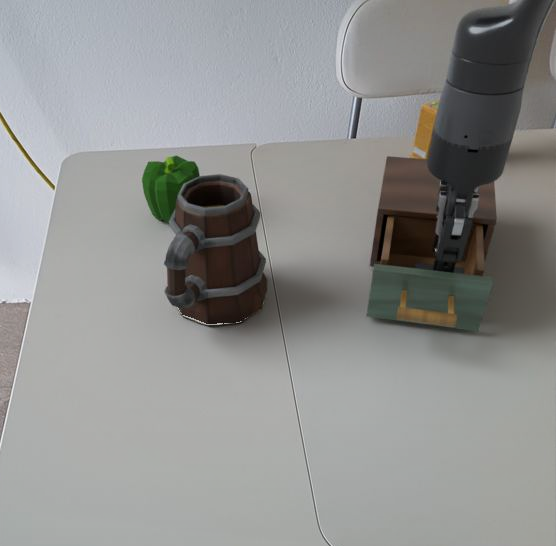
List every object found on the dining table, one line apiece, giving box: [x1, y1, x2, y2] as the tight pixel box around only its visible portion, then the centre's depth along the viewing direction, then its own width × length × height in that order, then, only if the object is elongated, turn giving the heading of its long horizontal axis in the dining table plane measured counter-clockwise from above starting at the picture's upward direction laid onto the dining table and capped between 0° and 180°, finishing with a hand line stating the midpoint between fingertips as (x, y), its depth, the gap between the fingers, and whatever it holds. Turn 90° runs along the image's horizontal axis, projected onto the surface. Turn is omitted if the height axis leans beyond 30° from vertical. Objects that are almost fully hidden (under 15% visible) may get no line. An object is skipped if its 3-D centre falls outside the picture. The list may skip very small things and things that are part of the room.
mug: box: [163, 173, 268, 324], centre depth 75 cm, size 16×12×15 cm
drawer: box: [366, 215, 494, 332], centre depth 75 cm, size 17×12×7 cm
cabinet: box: [369, 155, 498, 267], centre depth 85 cm, size 14×14×9 cm
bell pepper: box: [141, 155, 201, 224], centre depth 93 cm, size 8×8×10 cm
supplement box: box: [410, 99, 440, 159], centre depth 99 cm, size 3×3×10 cm
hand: (440, 266), depth 75 cm, fingers open, 5 cm apart
